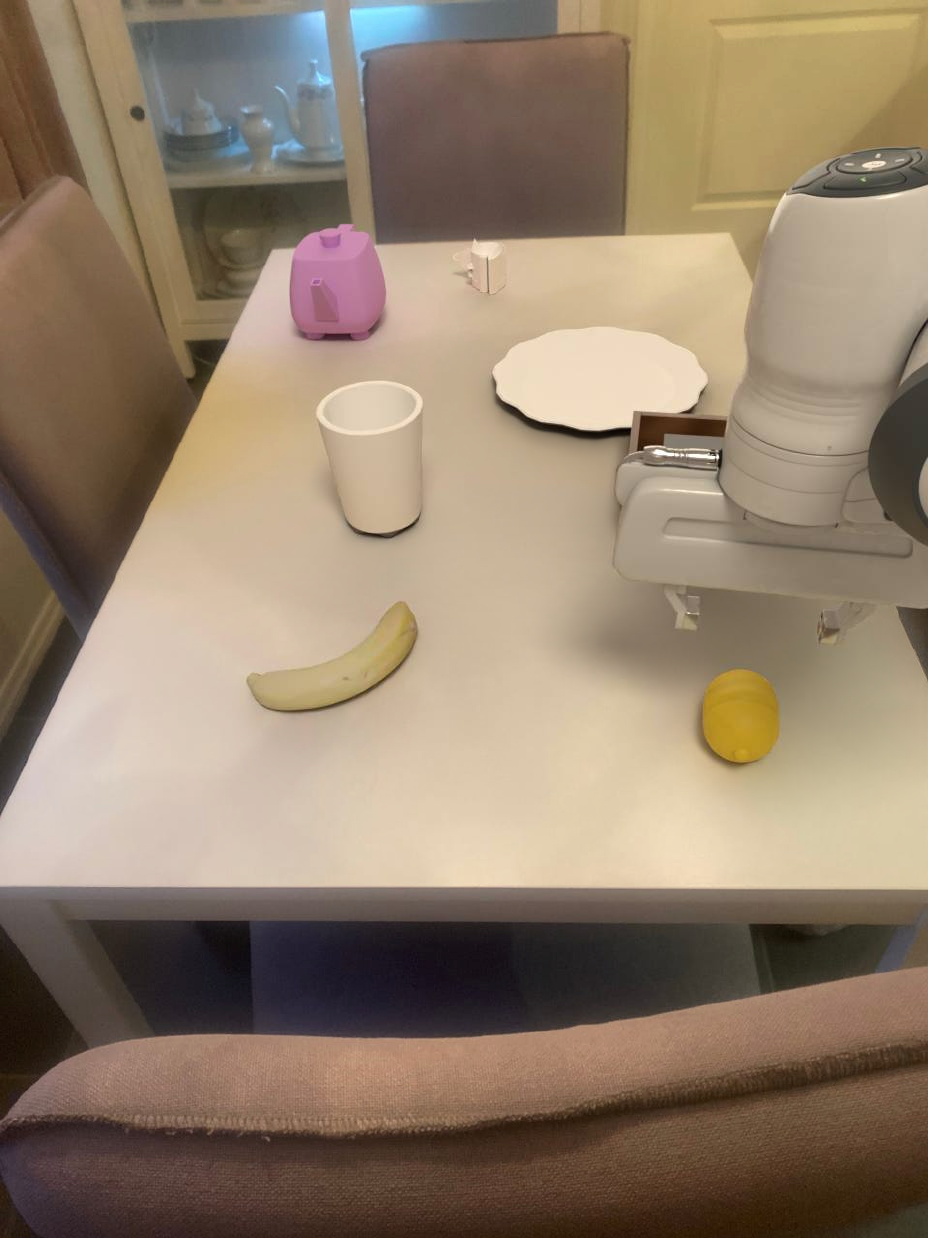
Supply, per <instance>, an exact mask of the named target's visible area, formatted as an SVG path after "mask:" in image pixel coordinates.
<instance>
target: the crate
mask: <svg viewBox="0 0 928 1238" xmlns="http://www.w3.org/2000/svg"><path fill="white" fill-rule="evenodd" d="M727 419H728V415H713V414H697V413H695V414H694V413H662V412H644V411H642V412H641V411H633V420H632V429H630V438H629V445H628V446H629V447H628V455H630V454H632V453H635V452H639V451H644V447H646V446H663V440H664V434H677V435H694V436H710V437H724V435H725V430H726V424H727ZM628 455H627V456H628ZM639 459H642V460H643V458H639Z"/></svg>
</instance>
